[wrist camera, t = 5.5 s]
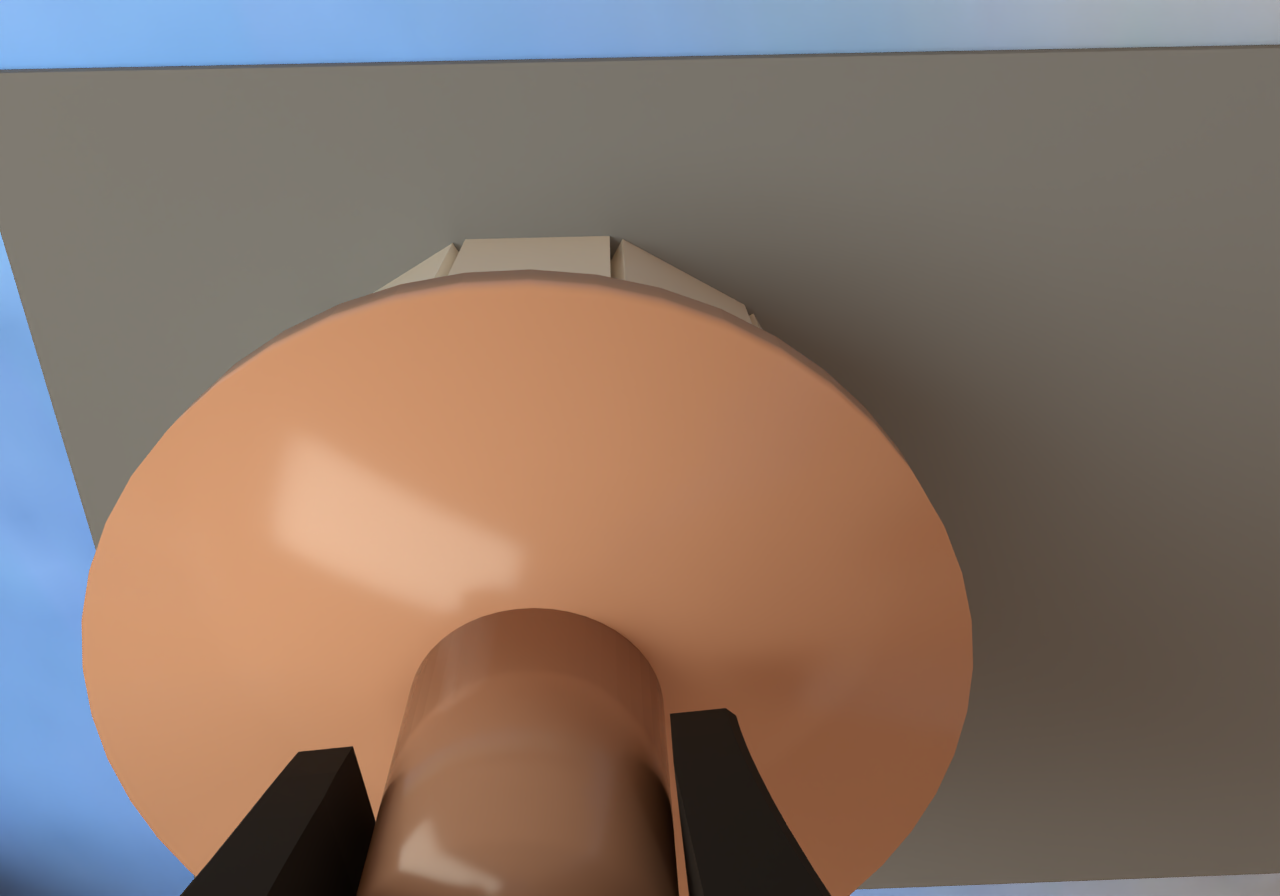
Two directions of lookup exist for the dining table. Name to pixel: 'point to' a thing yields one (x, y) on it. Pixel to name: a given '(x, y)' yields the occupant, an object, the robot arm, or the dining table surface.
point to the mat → (798, 343)
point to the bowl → (570, 265)
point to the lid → (528, 589)
